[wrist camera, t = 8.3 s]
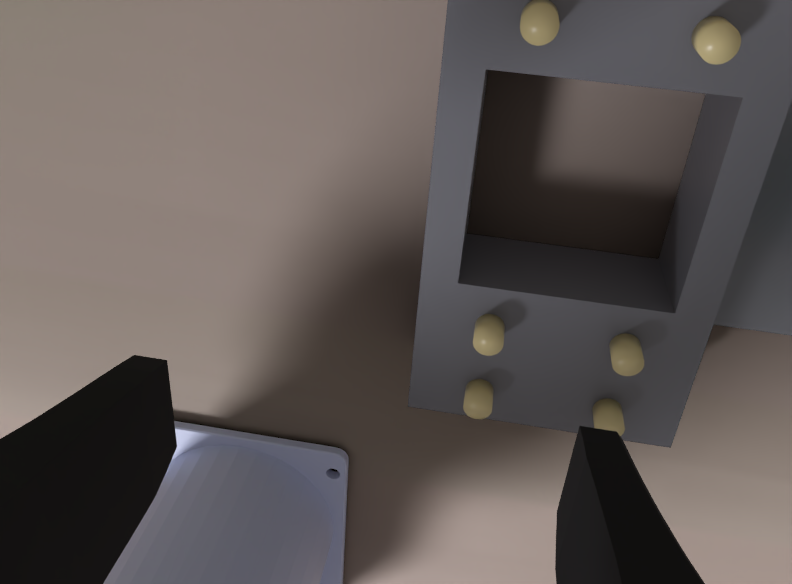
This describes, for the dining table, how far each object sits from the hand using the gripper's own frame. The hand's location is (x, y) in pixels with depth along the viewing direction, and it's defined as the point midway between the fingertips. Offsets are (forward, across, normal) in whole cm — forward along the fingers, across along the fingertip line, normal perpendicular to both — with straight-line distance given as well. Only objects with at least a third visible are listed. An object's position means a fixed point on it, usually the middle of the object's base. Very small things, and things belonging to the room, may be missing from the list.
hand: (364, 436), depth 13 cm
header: (+10, -4, -2) cm, 11 cm away
